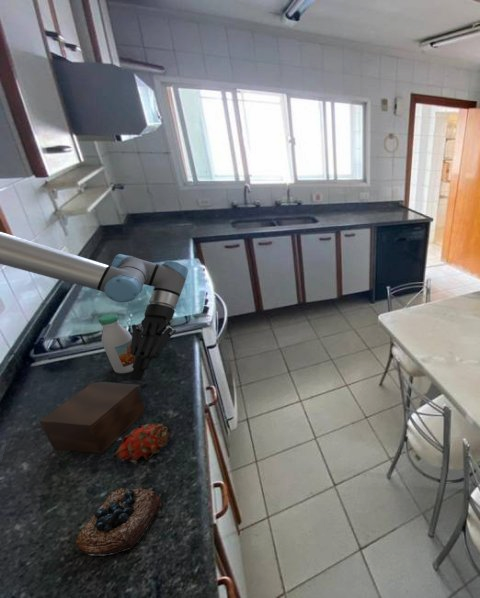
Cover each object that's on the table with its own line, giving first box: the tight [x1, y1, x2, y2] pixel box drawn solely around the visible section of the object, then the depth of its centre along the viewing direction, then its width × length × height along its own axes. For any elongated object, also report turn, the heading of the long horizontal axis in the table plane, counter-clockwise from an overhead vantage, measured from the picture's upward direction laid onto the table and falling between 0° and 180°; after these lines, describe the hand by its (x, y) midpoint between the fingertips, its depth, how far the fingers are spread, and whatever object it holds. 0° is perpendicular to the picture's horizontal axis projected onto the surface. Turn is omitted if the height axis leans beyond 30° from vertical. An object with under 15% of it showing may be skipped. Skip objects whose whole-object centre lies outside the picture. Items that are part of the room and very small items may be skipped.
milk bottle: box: [98, 313, 135, 374], centre depth 109 cm, size 8×8×20 cm
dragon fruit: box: [112, 423, 172, 465], centre depth 82 cm, size 8×8×12 cm
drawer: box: [99, 380, 148, 409], centre depth 91 cm, size 18×11×8 cm, turn 177°
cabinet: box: [39, 381, 146, 454], centre depth 87 cm, size 15×13×10 cm
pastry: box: [75, 487, 163, 555], centre depth 67 cm, size 11×12×6 cm
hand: (135, 379), depth 99 cm, fingers closed
